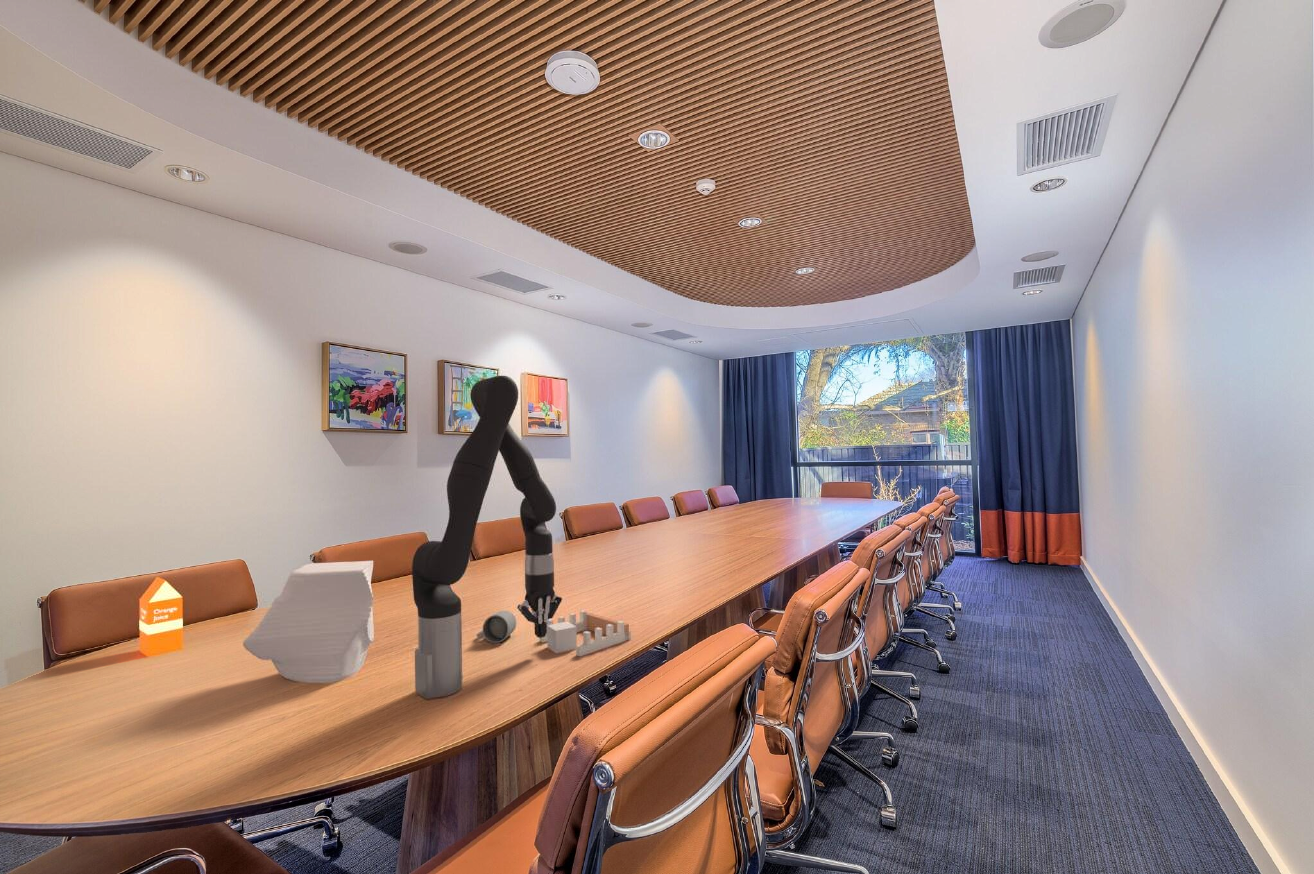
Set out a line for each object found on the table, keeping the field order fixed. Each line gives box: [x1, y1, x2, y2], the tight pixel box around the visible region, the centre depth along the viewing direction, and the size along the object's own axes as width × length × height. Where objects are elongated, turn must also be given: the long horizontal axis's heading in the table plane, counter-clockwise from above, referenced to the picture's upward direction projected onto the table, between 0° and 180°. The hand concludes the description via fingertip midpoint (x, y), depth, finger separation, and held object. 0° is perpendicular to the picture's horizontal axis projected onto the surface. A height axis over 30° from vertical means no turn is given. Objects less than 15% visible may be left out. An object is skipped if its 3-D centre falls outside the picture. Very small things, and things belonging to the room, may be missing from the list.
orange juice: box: [138, 576, 184, 658], centre depth 164 cm, size 8×9×20 cm
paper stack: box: [242, 560, 375, 684], centre depth 147 cm, size 21×27×26 cm
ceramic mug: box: [476, 610, 517, 644], centre depth 168 cm, size 11×8×8 cm
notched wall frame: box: [539, 609, 632, 657], centre depth 164 cm, size 18×18×5 cm
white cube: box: [546, 621, 578, 654], centre depth 158 cm, size 6×6×6 cm
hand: (540, 636), depth 154 cm, fingers closed
